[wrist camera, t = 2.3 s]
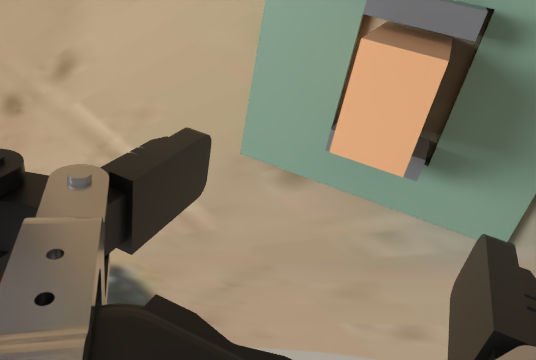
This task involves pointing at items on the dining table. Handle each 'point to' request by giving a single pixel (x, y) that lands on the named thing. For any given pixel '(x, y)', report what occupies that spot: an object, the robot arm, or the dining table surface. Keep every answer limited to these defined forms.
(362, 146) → the block
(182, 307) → the robot arm
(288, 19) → the board
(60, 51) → the dining table surface
